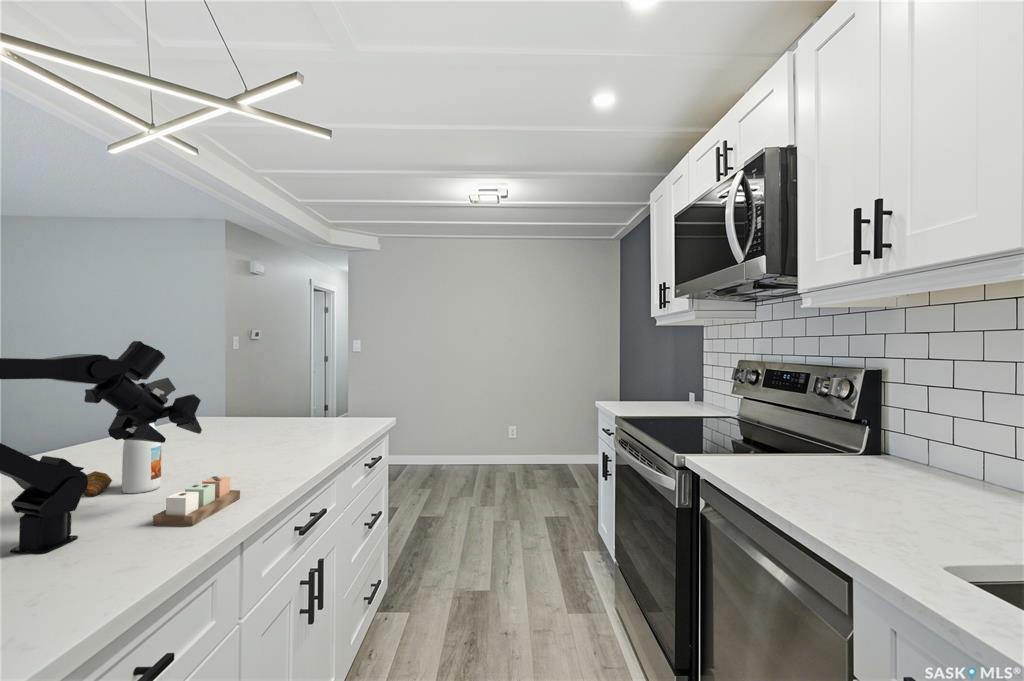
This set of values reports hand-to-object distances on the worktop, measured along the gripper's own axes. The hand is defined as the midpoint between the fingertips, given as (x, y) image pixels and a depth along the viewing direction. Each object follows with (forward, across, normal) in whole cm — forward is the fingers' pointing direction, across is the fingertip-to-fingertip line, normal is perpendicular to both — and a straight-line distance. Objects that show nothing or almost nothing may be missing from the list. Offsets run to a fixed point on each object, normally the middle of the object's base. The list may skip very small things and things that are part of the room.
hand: (182, 436), depth 110 cm
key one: (+3, -5, +19) cm, 20 cm away
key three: (+11, -4, +11) cm, 16 cm away
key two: (+7, -4, +15) cm, 17 cm away
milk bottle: (+13, +20, +3) cm, 24 cm away
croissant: (+10, +31, +2) cm, 32 cm away
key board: (+8, -4, +16) cm, 18 cm away
